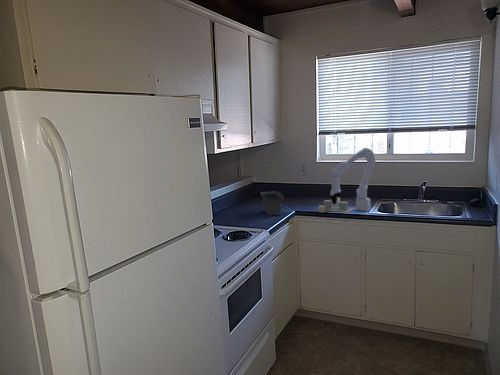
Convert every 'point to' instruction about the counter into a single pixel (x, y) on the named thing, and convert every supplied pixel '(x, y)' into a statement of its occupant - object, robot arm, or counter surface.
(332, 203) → the block
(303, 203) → the counter surface
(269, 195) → the storage bin
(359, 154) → the robot arm
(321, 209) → the block
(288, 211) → the counter surface
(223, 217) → the counter surface
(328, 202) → the din rail
